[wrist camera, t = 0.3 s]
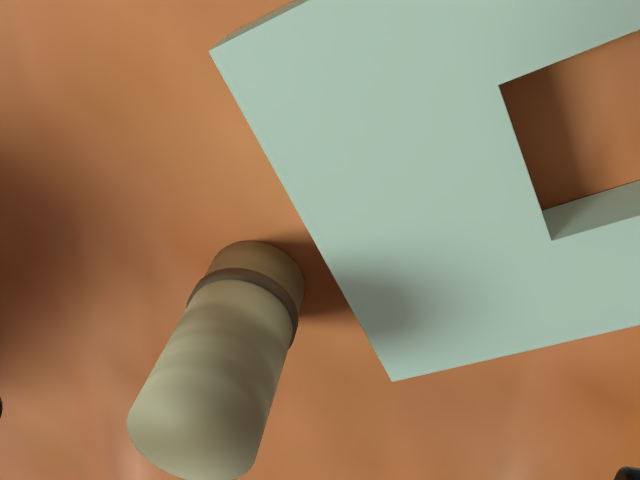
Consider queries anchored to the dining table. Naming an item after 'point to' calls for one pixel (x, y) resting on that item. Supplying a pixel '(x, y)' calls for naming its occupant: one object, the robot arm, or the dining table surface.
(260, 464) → the dining table surface
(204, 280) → the peg
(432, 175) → the board
